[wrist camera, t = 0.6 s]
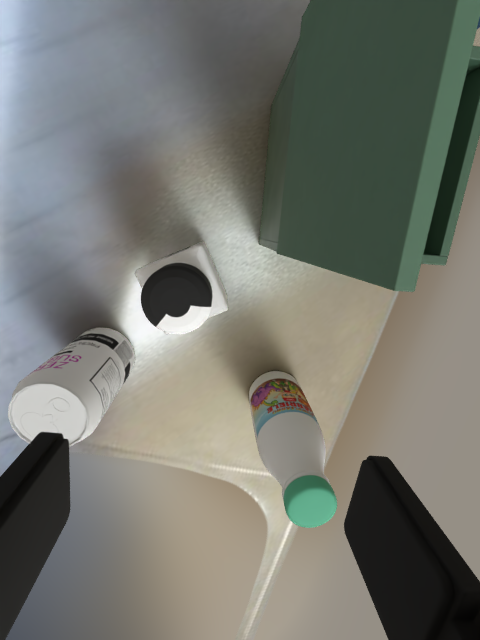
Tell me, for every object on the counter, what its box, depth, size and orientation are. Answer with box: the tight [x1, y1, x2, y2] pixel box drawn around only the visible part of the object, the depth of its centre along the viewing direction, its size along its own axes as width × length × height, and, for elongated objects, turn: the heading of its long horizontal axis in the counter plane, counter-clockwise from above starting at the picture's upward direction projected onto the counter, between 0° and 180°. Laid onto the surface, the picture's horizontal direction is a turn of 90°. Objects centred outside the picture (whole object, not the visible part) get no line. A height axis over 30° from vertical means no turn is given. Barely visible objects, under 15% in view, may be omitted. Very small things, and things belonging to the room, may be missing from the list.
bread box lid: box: [277, 0, 480, 292], centre depth 16 cm, size 15×16×1 cm
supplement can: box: [8, 327, 135, 447], centre depth 36 cm, size 8×8×15 cm
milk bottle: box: [249, 371, 337, 528], centre depth 36 cm, size 8×8×20 cm
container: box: [135, 242, 228, 334], centre depth 34 cm, size 8×8×13 cm
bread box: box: [259, 38, 480, 265], centre depth 31 cm, size 15×16×15 cm
